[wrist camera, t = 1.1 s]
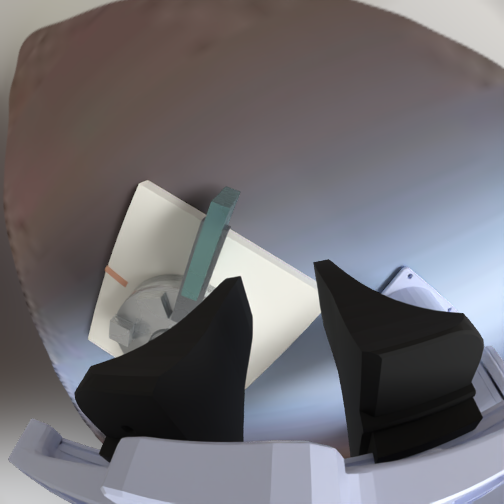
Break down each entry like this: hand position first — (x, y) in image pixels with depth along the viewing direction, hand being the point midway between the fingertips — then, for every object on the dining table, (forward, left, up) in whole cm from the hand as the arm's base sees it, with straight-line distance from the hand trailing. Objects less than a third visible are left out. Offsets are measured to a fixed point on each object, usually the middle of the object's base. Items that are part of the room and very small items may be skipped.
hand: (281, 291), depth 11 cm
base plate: (+2, +12, -10) cm, 16 cm away
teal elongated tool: (+2, +9, -9) cm, 12 cm away
